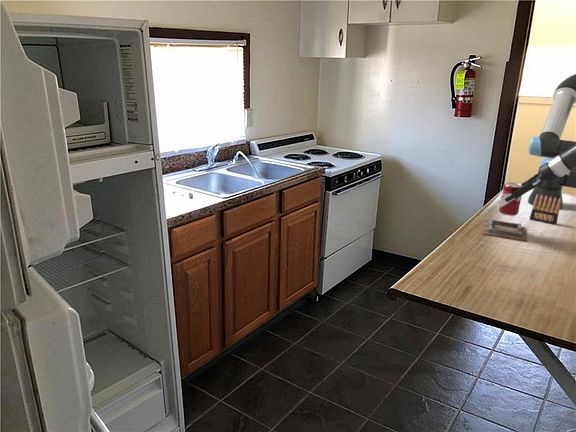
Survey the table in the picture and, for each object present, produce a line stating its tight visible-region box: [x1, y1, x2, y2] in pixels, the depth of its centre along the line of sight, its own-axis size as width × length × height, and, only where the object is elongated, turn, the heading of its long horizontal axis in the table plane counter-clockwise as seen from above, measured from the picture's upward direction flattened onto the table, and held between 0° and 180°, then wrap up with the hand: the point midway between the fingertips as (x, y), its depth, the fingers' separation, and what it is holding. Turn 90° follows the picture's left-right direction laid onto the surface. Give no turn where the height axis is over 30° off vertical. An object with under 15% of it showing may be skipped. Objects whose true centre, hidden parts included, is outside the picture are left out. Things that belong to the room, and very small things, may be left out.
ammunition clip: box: [528, 194, 561, 226], centre depth 209 cm, size 11×2×12 cm, turn 54°
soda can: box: [498, 182, 523, 217], centre depth 192 cm, size 7×7×12 cm
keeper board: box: [482, 218, 528, 243], centre depth 197 cm, size 16×16×2 cm
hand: (500, 202), depth 194 cm, fingers closed on soda can, 7 cm apart
